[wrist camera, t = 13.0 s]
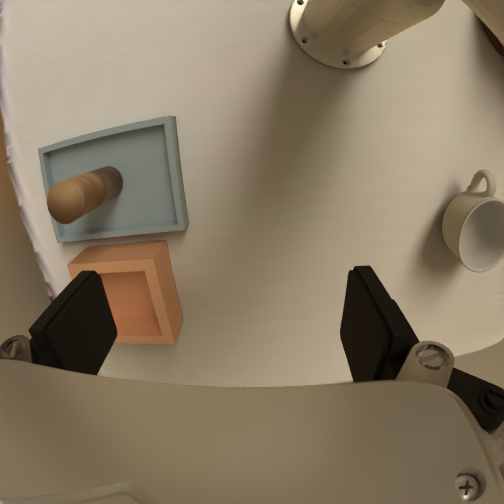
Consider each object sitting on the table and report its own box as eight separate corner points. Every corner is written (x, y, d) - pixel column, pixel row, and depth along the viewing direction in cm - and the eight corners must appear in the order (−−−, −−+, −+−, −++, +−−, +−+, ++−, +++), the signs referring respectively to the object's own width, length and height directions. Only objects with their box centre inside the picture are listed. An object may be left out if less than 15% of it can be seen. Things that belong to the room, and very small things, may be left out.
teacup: (474, 252, 41) (501, 274, 34) (425, 249, 41) (452, 273, 34) (492, 171, 36) (525, 182, 28) (442, 157, 36) (476, 167, 28)
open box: (86, 247, 41) (67, 264, 36) (166, 240, 41) (153, 258, 35) (109, 320, 46) (96, 342, 41) (183, 319, 46) (175, 344, 40)
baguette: (92, 169, 36) (43, 185, 26) (120, 163, 36) (75, 178, 25) (97, 200, 37) (51, 226, 27) (125, 197, 37) (83, 222, 27)
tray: (48, 146, 35) (38, 149, 33) (175, 116, 34) (170, 116, 32) (65, 237, 41) (57, 243, 38) (188, 223, 40) (185, 230, 38)
